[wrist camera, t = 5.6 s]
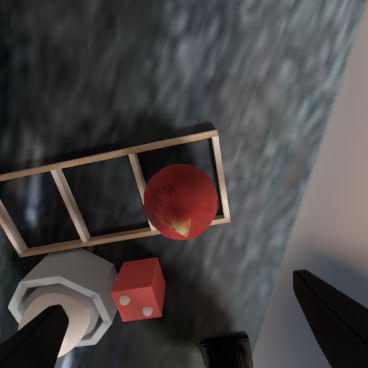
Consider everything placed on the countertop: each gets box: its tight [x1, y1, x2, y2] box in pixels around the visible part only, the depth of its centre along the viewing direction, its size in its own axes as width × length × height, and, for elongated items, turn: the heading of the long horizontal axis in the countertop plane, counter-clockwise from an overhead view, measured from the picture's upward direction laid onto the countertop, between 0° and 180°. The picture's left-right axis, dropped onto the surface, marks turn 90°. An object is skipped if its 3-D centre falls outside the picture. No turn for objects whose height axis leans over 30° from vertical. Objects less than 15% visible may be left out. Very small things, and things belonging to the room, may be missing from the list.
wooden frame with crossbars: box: [0, 129, 230, 257], centre depth 19 cm, size 9×23×1 cm, turn 102°
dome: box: [18, 283, 100, 357], centre depth 19 cm, size 7×7×6 cm
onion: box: [144, 164, 218, 240], centre depth 15 cm, size 6×6×8 cm
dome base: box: [8, 248, 166, 347], centre depth 21 cm, size 10×15×4 cm, turn 102°
